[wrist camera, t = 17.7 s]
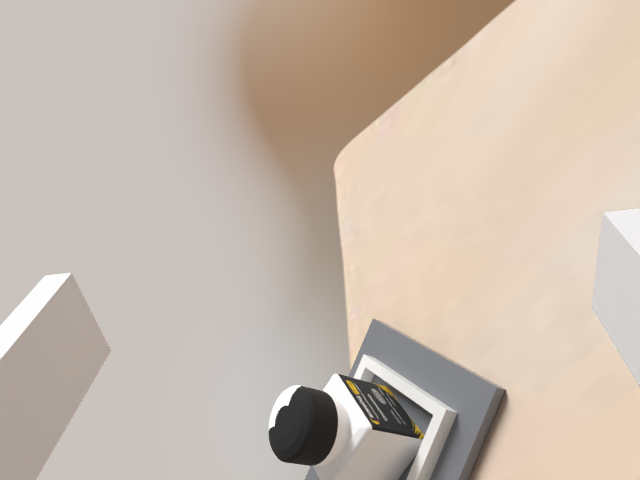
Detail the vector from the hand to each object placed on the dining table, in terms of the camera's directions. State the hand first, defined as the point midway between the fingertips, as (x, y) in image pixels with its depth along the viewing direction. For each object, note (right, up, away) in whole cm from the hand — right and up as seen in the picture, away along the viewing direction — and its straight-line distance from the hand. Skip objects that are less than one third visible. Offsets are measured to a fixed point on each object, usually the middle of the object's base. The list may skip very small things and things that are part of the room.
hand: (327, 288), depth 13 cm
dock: (+7, -18, +36) cm, 41 cm away
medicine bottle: (+6, -18, +36) cm, 40 cm away
